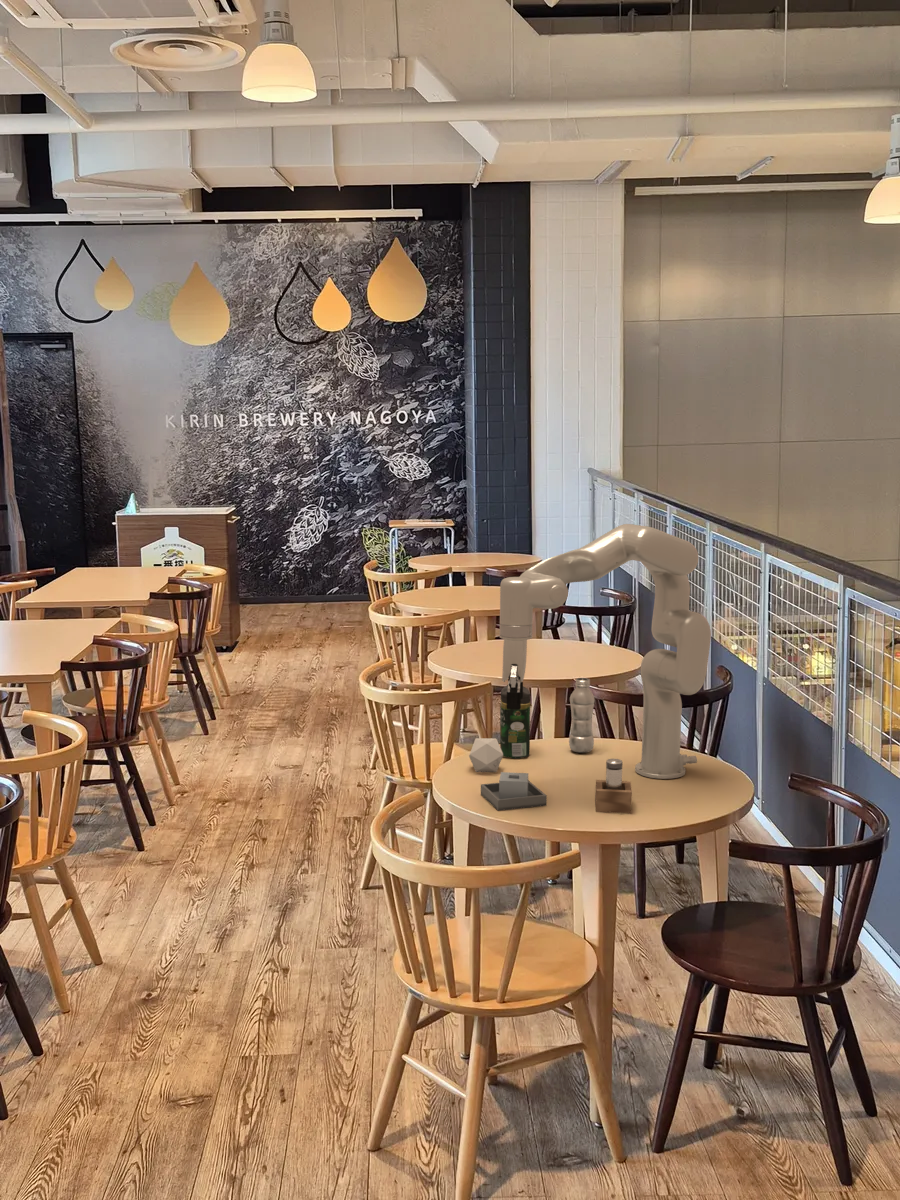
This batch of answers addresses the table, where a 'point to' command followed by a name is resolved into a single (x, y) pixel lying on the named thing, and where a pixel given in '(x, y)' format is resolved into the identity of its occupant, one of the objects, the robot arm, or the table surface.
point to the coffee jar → (515, 727)
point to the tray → (532, 800)
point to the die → (486, 755)
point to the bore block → (613, 798)
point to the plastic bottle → (581, 717)
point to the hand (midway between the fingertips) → (514, 703)
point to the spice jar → (614, 774)
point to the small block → (513, 785)
